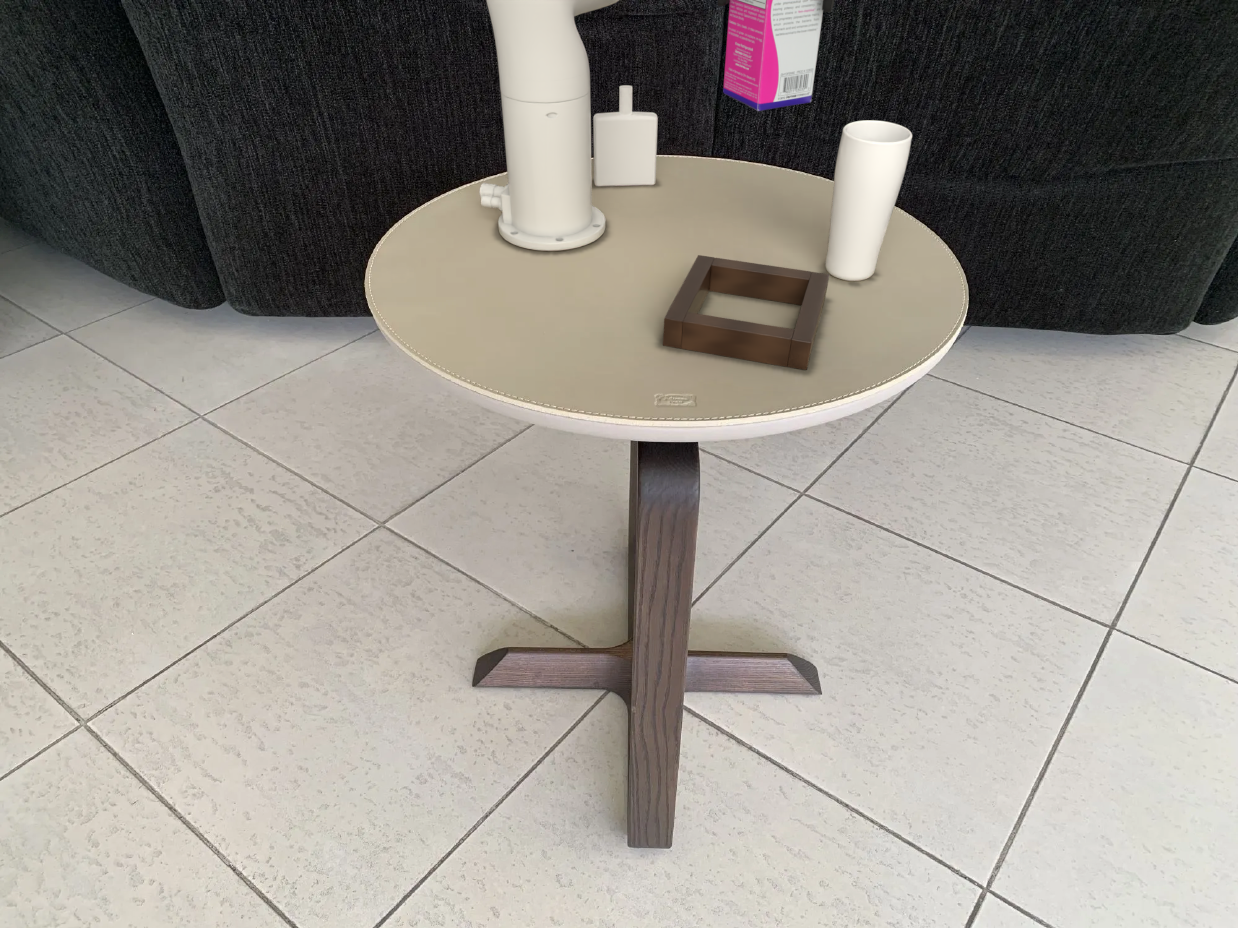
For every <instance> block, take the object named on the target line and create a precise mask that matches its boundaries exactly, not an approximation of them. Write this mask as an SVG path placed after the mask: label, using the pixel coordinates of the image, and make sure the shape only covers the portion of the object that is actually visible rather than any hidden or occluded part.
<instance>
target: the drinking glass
mask: <svg viewBox="0 0 1238 928" xmlns="http://www.w3.org/2000/svg"><path fill="white" fill-rule="evenodd" d="M912 140H913V133H912V132H911V130H910V129H909V128H907V127H906V126H903V125H900V124H898V123H896V122H895V123H894V122H890V121H885V120H875V119H874V120H873V119H872V120H869V119H868V120H867V119H866V120H865V119H864V120H857V121H852V122H849V123H847V124H846V125H844V126H843V128H842V132H841V136H840V140H839V145H838V150H837V155H836V160H835V167H834V177H833V187H832V199H831V210H830V220H829V221H830V222H829V229H828V230H829V232H828V241H827V249H826V250H827V251H826V254H825V256H826V257H825V261H824V262H825V263H824V266H825V270H826V271H827V273H828V274H829V275H831V276H832V277H835V278H837V279H838V280H843V281H848V282H861V281H865V280H868V279H869V278H871V277H872V276H873V275H874V273H876V268H877V265H878V261H879V256H880V253H881V249H882V246H883V242H884V240H885V238H886V234H887V231H888V227H889V224H890V221H891V218H892V215H893V212H894V209H895V207H896V203H897V199H898V196H899V194H900V190H901V186H902V184H903V180H904V177H905V173H906V169H907V165H908V161H909V156H910V152H911V145H912Z"/></svg>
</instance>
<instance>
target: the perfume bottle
mask: <svg viewBox="0 0 1238 928" xmlns="http://www.w3.org/2000/svg"><path fill="white" fill-rule="evenodd" d="M618 91H619V93H618V94H619V95H618V96H619V97H618V99H619V100H618V101H619V102H618V103H619V105H618V107H619V108H618V111H613V112H612V111H611V112H600V113H597V112H596V113H595V114H594V116H593V119H592V120H593V121H592V122H593V182H594V185H595V187H631V186H632V187H633V186H654V185H655V184H656V181H657V180H656V178H657V154H658V153H657V152H658V122H659V118H658V115H657V113H656V112H652V111H651V112H650V111H633V85H628V84H627V85H625V84H623V85H620V86H619V89H618Z"/></svg>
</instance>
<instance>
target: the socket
mask: <svg viewBox="0 0 1238 928" xmlns="http://www.w3.org/2000/svg"><path fill="white" fill-rule="evenodd" d="M829 280H830V273H824V272H816V271H809V270H803V269H797V268H790V267H783V266H775V265H771V264H763V263H762V264H761V263H755V262H749V261H741V260H734V259H729V258H721V257H715V256H707V255H701V254H698V255H697V257H696V258H695V260H694V262H693V264H692V266H691V268H690V269H689V271H688V273H687V275H686V277H685V279H684V281H683V282H682V285H681V286H680V288H679V290H678V292H677V294H676V296H675V297H674V299H673V301H672V303H671V305H670V306H669V308H668V310H667V312H666V314H665V316H664V318H663V334H662V335H663V336H662V337H663V338H662V346H663V347H669V348H675V349H680V350H687V351H693V352H698V353H703V354H710V355H715V356H722V357H727V358H732V359H739V360H744V361H750V362H755V363H762V364H768V365H774V366H778V367H785V368H791V369H797V370H804V371H807V370H808V368H809V367H808V366H809V363H810V359H811V355H812V351H813V347H814V344H815V339H816V336H817V331H818V328H819V325H820V320H821V317H822V312H823V309H824V305H825V300H826V296H827V290H828V285H829ZM709 292H713V293H720V294H728V295H735V296H741V297H745V298H746V297H747V298H752V299H757V300H758V299H760V300H766V301H772V302H777V303H778V302H779V303H785V304H792V305H797V306H800V309H799V313H798V317H797V319H796V323H795V326H794V328H789V327H783V326H776V325H769V324H764V323H757V322H753V321H752V322H751V321H747V320H746V321H745V320H739V319H734V318H727V317H720V316H714V315H709V314H703V313H700V311H701V308H702V307H703V304H704V302H705V300H706V298H707V296H708V294H709Z"/></svg>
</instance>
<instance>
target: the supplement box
mask: <svg viewBox="0 0 1238 928" xmlns="http://www.w3.org/2000/svg"><path fill="white" fill-rule="evenodd" d="M728 5H729V8H728V21H727V34H726V35H727V36H726V48H725V49H726V50H725V60H724V61H725V62H724V74H723V75H724V77H723V89H722V92H723V94H724V95H726V96H728V97H729V98H732V99H733V100H735V101H738V102H740V103H741V104H743V105H746V106H747V107H750V108H751V109H753V110H755V111H757V112H761V111H767V110H773V109H778V108H784V107H790V106H791V107H792V106H797V105H803V104H809V103H812V96H813V90H814V82H815V74H816V66H817V60H818V53H819V52H818V51H819V46H820V45H819V44H820V37H821V28H822V23H823V22H822V21H823V13H824V10H822V6H823V0H730V1H729V4H728Z"/></svg>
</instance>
